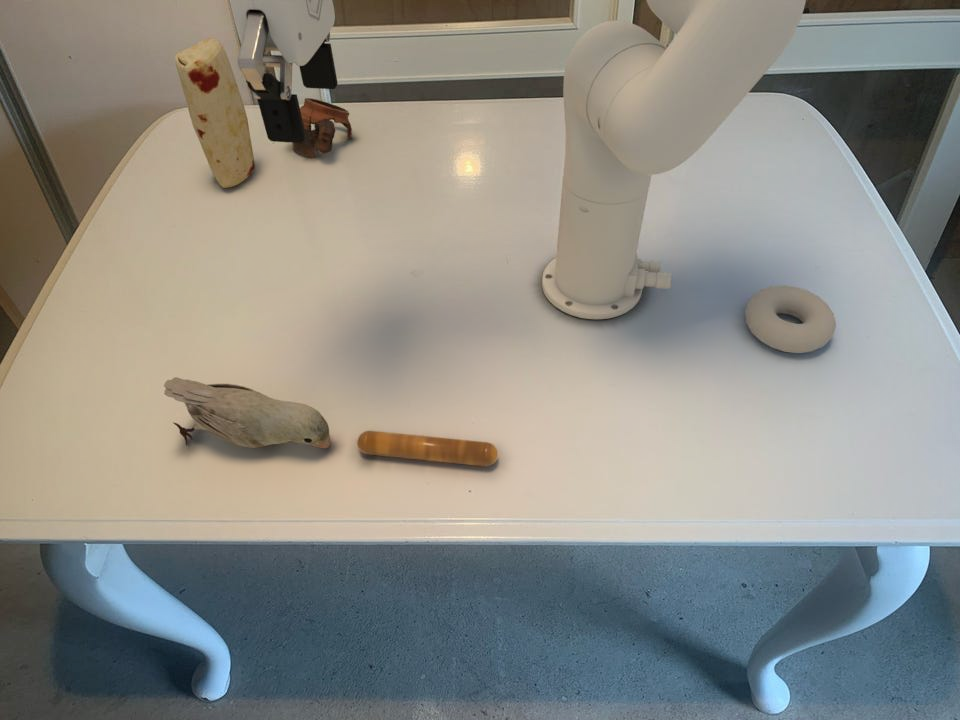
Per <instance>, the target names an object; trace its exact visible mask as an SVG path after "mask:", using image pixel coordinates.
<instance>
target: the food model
mask: <svg viewBox="0 0 960 720" xmlns="http://www.w3.org/2000/svg"><path fill="white" fill-rule="evenodd" d="M174 63H175V66H176V71H177V74H178V77H179V82H180V85H181V88H182V91H183V95H184V98H185V102H186V106H187V109H188V113H189V118H190V120H191V124H192V127H193V130H194V132H195V134H196V136H197V140H198V142H199V144H200V146H201V148H202V151H203V154H204V156H205V158H206V161H207V163H208V166H209V168H210V170H211V172H212V174H213V175H214V176H213V177H214V178H215V180H216V182H217V183H218V184H219V185H220V186H221V187H222V188H223V189H226V188H231V187H235V186H238V185H239V184H241V183H242V182H244V181H245V180H247V179H248V178H249V177H250V176H251V175H252V173H253V171H254V170H255V167H256V164H255V157H254V151H253V144H252V138H251V133H250V126H249V125H250V124H249V119H248V115H247V113H246V112H247V111H246V108H245V105H244V102H243V99H242V98H243V97H242V95H241V92H240V89H239V86H238V83H237V80H236V76H235V73H234V71H233V68H232V65H231V62H230V59H229V56H228V55H227V51H226V49H225V47H224V45H223V44H222V42H221V41H219V40H218V39H216V38H205V39H203V40H201V41H199V42H198V43H196V44H195V45H193V46H191V47H188V48H186V49H184V50H183V49H181V50H179V51H178V52H177V53H175V56H174Z"/></svg>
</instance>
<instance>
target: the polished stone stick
mask: <svg viewBox="0 0 960 720" xmlns="http://www.w3.org/2000/svg"><path fill="white" fill-rule="evenodd" d="M356 445H357V448H358V451H360V452H361V453H363V454H365V455H369V456H380V457H390V458H399V459H400V458H401V459H409V460H420V461H430V462H439V463H449V464H459V465H460V464H461V465H469V466H479V467H490V466H492V465H493V464H495V463H496V462H497V460H498V456H499V452H498V449H497V447H496V446H495V444H494V443H491V442H488V441H479V440H469V439H459V438H448V437H438V436H430V435H429V436H428V435H418V434H410V433H409V434H407V433H397V432H387V431H379V430H378V431H377V430H365V431H363V432H362V433H360V434H359V436H358V438H357V440H356Z"/></svg>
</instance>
